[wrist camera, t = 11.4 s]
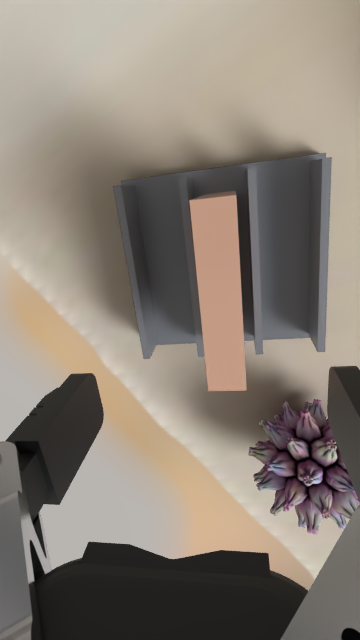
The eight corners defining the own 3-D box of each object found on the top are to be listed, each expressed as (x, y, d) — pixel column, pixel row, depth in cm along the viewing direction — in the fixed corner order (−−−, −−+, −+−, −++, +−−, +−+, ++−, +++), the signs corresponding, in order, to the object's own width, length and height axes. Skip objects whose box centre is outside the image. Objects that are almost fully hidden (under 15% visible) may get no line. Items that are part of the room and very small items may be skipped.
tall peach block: (206, 193, 29) (189, 200, 18) (235, 190, 29) (236, 194, 18) (216, 323, 34) (208, 391, 23) (242, 321, 33) (246, 390, 22)
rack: (126, 180, 31) (105, 180, 26) (321, 154, 28) (340, 147, 23) (151, 339, 37) (138, 363, 32) (317, 331, 34) (331, 356, 29)
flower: (380, 403, 36) (444, 499, 25) (317, 477, 41) (348, 586, 30) (281, 358, 36) (301, 435, 25) (229, 438, 40) (228, 532, 30)
